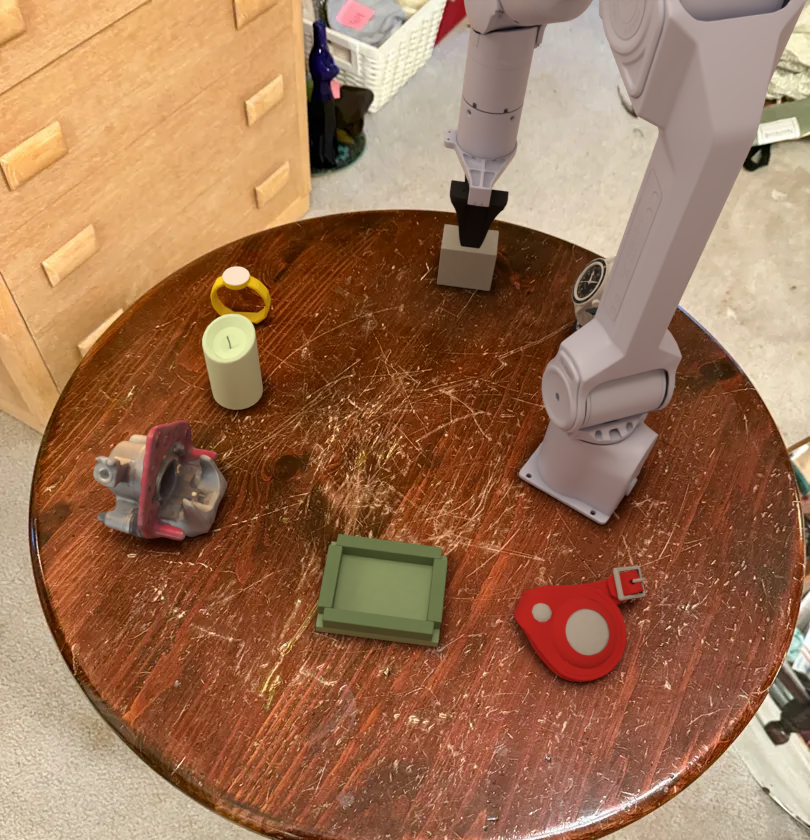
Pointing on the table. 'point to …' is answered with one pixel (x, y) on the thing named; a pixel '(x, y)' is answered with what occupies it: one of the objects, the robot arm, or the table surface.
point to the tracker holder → (579, 623)
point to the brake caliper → (161, 484)
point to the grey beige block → (467, 261)
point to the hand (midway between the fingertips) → (473, 221)
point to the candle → (233, 361)
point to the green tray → (383, 590)
